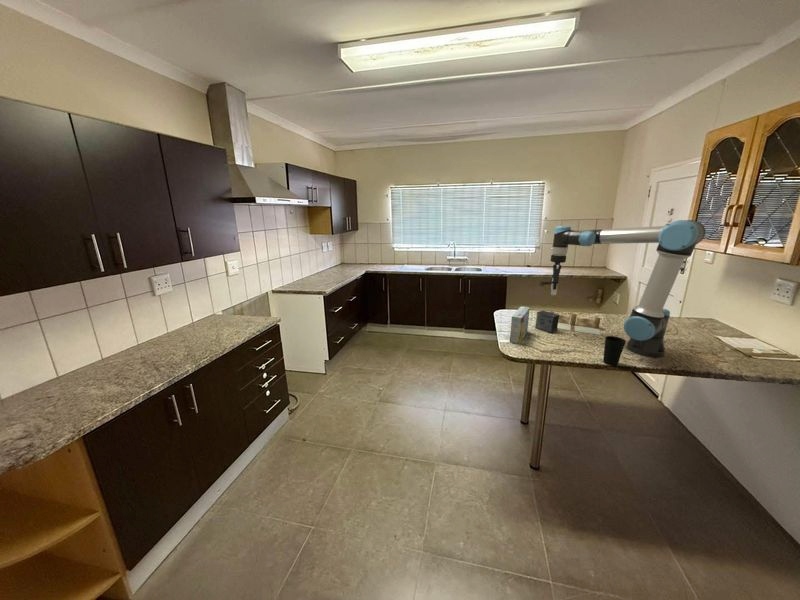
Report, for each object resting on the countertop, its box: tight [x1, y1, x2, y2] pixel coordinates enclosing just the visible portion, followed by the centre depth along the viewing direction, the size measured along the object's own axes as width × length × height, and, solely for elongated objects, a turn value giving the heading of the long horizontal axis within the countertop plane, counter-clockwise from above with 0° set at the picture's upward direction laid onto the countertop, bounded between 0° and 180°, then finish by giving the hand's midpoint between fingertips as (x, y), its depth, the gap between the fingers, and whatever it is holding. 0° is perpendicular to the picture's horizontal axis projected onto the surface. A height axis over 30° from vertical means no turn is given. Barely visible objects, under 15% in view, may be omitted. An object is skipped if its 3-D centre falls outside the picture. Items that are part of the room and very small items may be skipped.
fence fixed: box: [569, 313, 602, 330], centre depth 187 cm, size 15×3×7 cm, turn 62°
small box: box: [534, 310, 560, 334], centre depth 181 cm, size 11×6×10 cm, turn 34°
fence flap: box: [548, 310, 571, 324], centre depth 193 cm, size 12×3×6 cm, turn 62°
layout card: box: [557, 321, 601, 336], centre depth 188 cm, size 28×16×1 cm, turn 62°
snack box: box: [509, 306, 531, 345], centre depth 170 cm, size 21×6×15 cm, turn 147°
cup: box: [602, 335, 626, 367], centre depth 141 cm, size 8×8×12 cm
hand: (553, 292), depth 175 cm, fingers open, 13 cm apart
